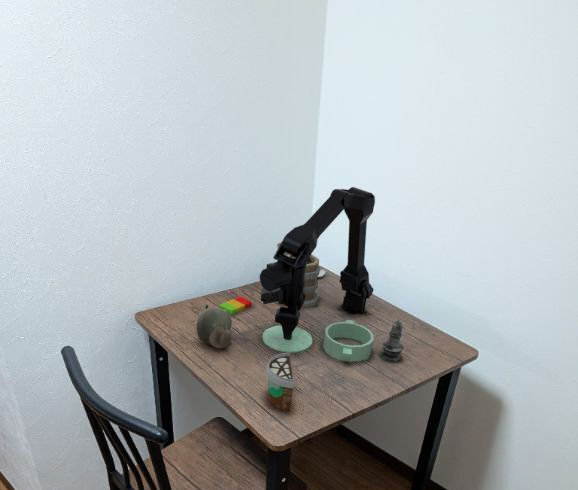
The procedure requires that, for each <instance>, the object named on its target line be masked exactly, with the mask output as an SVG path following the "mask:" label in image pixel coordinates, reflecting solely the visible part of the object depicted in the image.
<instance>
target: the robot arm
mask: <svg viewBox="0 0 578 490" xmlns="http://www.w3.org/2000/svg"><path fill="white" fill-rule="evenodd" d="M375 204H376V196H375V195H374V194H373V193H372V192H369V191H367V190H363V189H362V188H358V187H355V186H351V187H350V188H349V189H346V188H334V189H333V190H332V191H331V193H330V195H329V197H328V198H327V199H326V200H325V201H324V203H322V204H321V205H320V207H319V208H318V209H316V211H314V213H313V214H312V215H311V216H310V217H309V218H308V219H307V221H305V222H304V223H303V224H301V225H298V226H295V227H294V228H292V229H291V230H290V231H289V232H288V233H286V234H285V236H284V237H283V239H282V240H281V242H280V243H281V244H280V246H279V248H278V247H277V250H276V251H275V253H274V255H273V257H272V258H273V260H276V261H274V262H269V263H267V264H266V267H265V268H264V269H262V270H261V272H260V273H259V282H260V285H261V286H262V288H261V290H260V293H259V294H260V301H261V302H262V303H263V305H268V304H272V303H276V302H278V305H284V306H286V307H284V306H280V307H278V308H277V309H276V312H275V314H274V322H275V323H276V324H279V325H281V326H282V331H283V336H284V339H286V340H288V339H289V337H290V336H291V334H292V332H293V331H294V329H295V328H296V327H298V326H299V322H300V317H301V312H300V310H301V309H302V308H303V307H302V305H303V303H304V300H305V297H306V289H305V288H304V286H305V282H304V281H305V273H306V264H309V263H311V262H312V260H311V259H310V258H309V256H310V255H311V254H312V255H313V252H314V251H315V250H316V249H317V246H318V241H319V240H318V239H319V238H320V237H321V235H322V234H323V233H324V232H325V231H326V230H327V229H328V228H329V226H330V225H332V224H333V222H334V221H335V220H336V219H337V218H338V216H339V215H340V214H341V213H343V211H344V213H345V215H346V218H347V219H348V240H347V241H348V242H347V244H348V245H347V263H346V266H345V267H344V268H343V269H342V270H340V272H339V276H340V277H339V283H340V284H341V286H340V287H341V290H342V291H344V296H343V299H342V304H341V305H339V306H340V309H342V310H343V311H344V312H346V313H348V314H349V315H350V316H353V315H363V314H364V315H365V314H368V310H367V309H366V303H367V300H369V299H370V298H371V296H373V293H374V290H375V289H374V287H373V286H372V284H371V283H370V274H369V271H368V269H367V267H366V265H365V258H366V257H365V256H366V243H367V242H366V241H367V240H366V239H367V227H368V225H367V224H368V220H369V219H370V217H371V216H372V215H373V213H374V208H375V206H376V205H375ZM284 253H287V254H289V255H291V256H293V258H290V257H288V256H286V255H284Z"/></svg>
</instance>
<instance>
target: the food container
mask: <svg viewBox="0 0 578 490" xmlns="http://www.w3.org/2000/svg"><path fill="white" fill-rule="evenodd" d="M265 376H266V377H267V401H268V403H269V404H270V406H271V407H273V408H274V409H276V410H278V411H281V412H287V413H288V412H289V413H290V412H291V408H292V400H293V395H294V394H293V393H294V389H295V379H294V378H293V369H292V363H291V353H287V352H281V353H279V354H275V355H274V356H272V357H271V358H270V359H269V360H268V362H267V364H266V368H265Z"/></svg>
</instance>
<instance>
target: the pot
mask: <svg viewBox="0 0 578 490" xmlns="http://www.w3.org/2000/svg"><path fill="white" fill-rule="evenodd" d="M337 338H338V339H339V338H345V339H352V340H355V341H358V342H360V343H361V344H360V345H359V344H357V345H351V344H346V343H345V344H344V343H341V342H339V341H336V340H334V339H337ZM373 344H374V334H373V332H372V331H371V329H368V328H367V327H365V326H364V325H361V324H358V323H356V322H355V320H350V319H346V320H345V321H341V322H340V321H337V322H333V323H330V324H329V325H328V326H326V328H325V331H324V337H323V343H322V349H323V351H324V352H325V353H326V354H327V355H328V356H330V357H332V358H334V359H336V360H339V361H342V362H349V363H352V362H353V363H354V362H361V361H366V360H368V359H369V358H370V356H371V354H372V348H373Z"/></svg>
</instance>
